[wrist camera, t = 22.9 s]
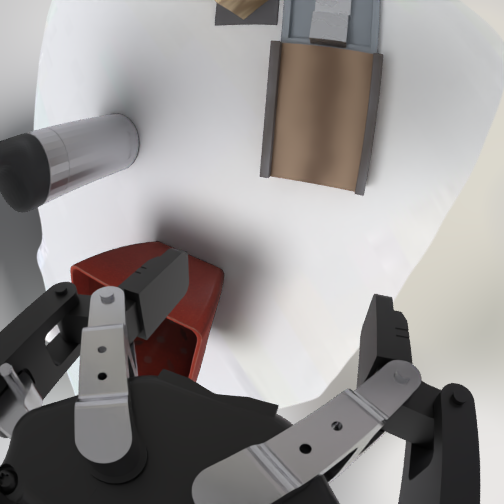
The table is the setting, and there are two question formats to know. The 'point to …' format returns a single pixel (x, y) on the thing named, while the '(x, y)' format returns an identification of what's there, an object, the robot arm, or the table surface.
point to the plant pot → (179, 319)
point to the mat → (260, 16)
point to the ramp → (320, 115)
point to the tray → (359, 26)
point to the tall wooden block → (241, 6)
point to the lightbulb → (52, 334)
